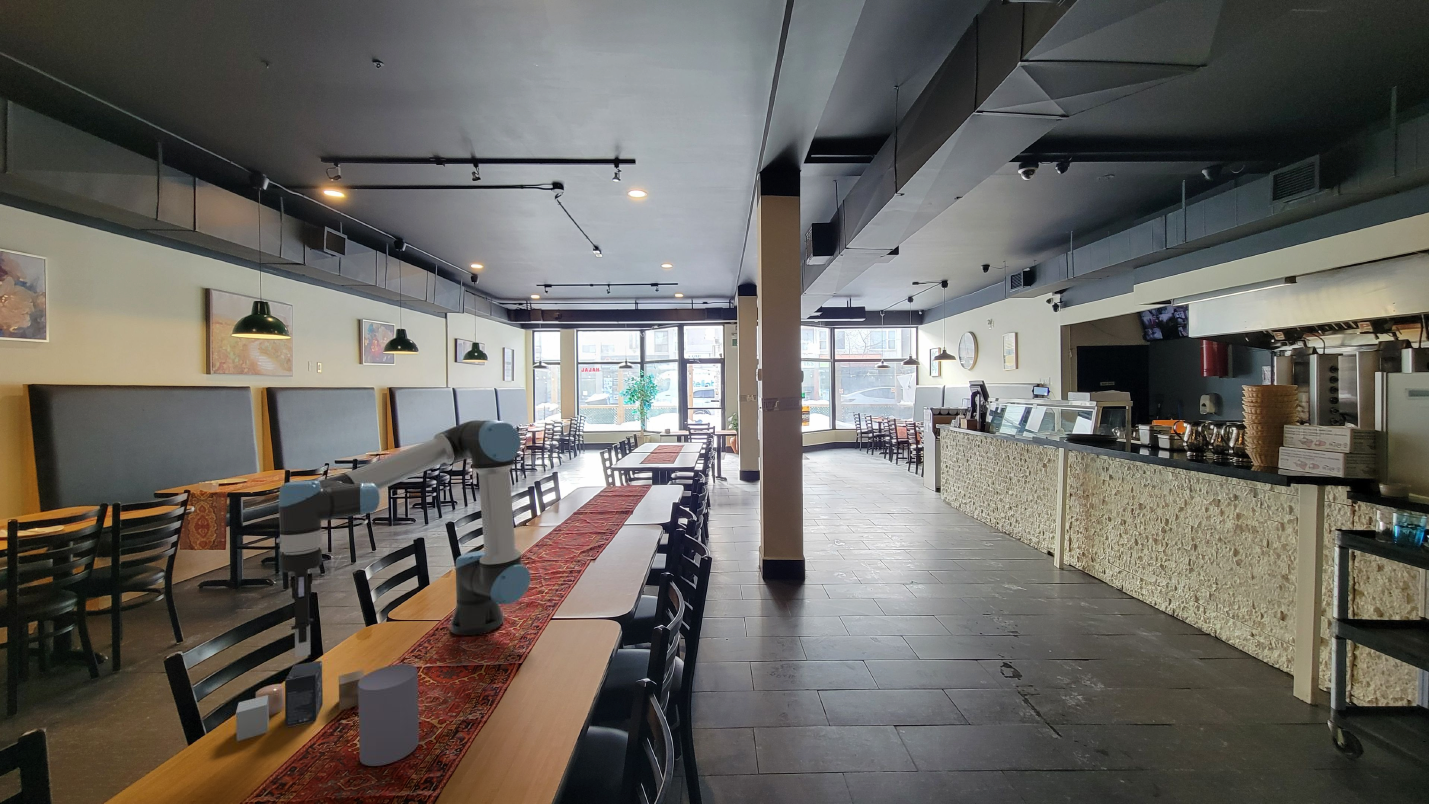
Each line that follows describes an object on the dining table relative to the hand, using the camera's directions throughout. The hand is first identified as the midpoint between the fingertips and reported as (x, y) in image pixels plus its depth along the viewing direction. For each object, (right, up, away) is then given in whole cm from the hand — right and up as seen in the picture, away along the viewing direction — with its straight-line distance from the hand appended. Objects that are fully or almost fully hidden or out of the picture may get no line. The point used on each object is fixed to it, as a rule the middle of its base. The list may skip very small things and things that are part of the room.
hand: (302, 654), depth 124 cm
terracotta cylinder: (-9, -14, +2) cm, 17 cm away
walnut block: (+7, -14, +6) cm, 17 cm away
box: (0, -14, 0) cm, 14 cm away
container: (+27, -14, -13) cm, 33 cm away
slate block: (-7, -14, -5) cm, 17 cm away
